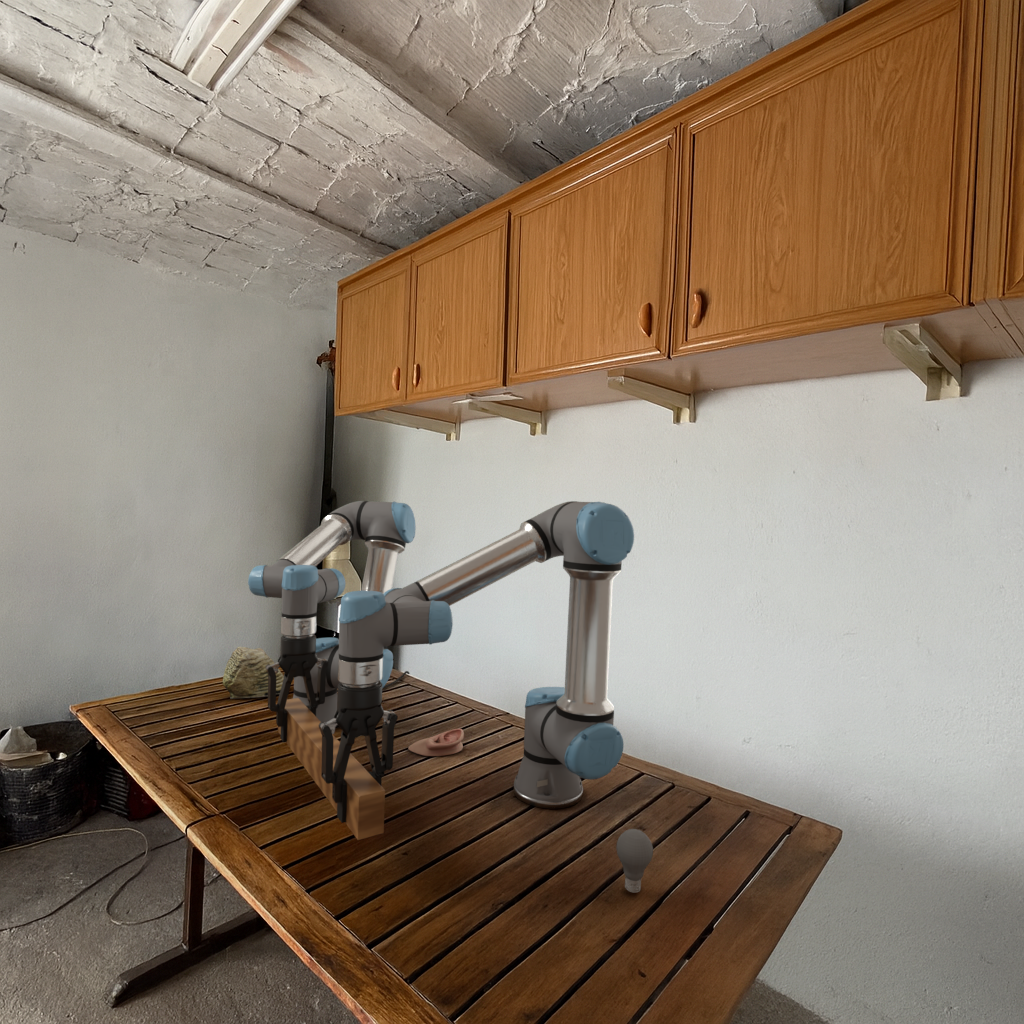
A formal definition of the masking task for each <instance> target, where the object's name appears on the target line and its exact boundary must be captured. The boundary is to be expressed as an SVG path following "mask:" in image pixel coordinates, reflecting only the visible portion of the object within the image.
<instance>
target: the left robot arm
mask: <svg viewBox="0 0 1024 1024" xmlns="http://www.w3.org/2000/svg"><path fill="white" fill-rule="evenodd" d="M416 526H417V525H416V517H415V513H414V511H413V508H412V507H411V506H410V505H409V504H407V503H406V502H405V503H404V502H397V501H378V500H377V501H374V500H373V501H372V500H357V501H352V502H350V503H346V504H344V505H342V506H340V507H338V508H336V509H334V510H333V511H331V512H330V513H328V514H327V515H325V517H323V519H322V520H321V523H320V525H319V526H318V527H317V528H315V529H314V530H313V531H311V532H310V533H309V534H308V535H307V536H306V537H304V538H303V539H302V540H301V541H299V542H297V543H296V545H294V546H293V547H292V548H291V549H289V550H288V551H287V552H286V553H285V554H283V555H282V556H281V557H279V558H278V559H277V560H276V561H274V562H273V563H272V564H271V565H268V564H262V565H260V564H259V565H256V566H254V567H253V568H252V569H251V570H250V573H249V575H248V578H247V579H248V580H247V584H248V589H249V591H250V593H251V594H253V595H254V596H257V597H264V598H266V599H267V598H275V599H281V618H280V619H281V620H280V622H281V623H280V634H281V635H282V636H281V637H280V649H279V651H280V653H279V657H278V659H277V661H276V662H274V664H272V665H270V664H268V665H266V670H267V673H268V696H267V708H268V709H269V710H270V712H276V713H275V714H276V718H275V724H276V726H277V728H278V727H281V735H280V737H279V738H280V740H281V741H282V743H286V742H287V714H288V713H287V711H286V710H285V705H286V701H287V699H289V698H288V697H289V694H290V690H291V687H292V683H293V695H292V696H293V697H292V699H293V698H299V699H300V700H301V701H302V702H303V703H304V704H305V705H306V707H307V708H308V709H309V710H310V711H311V712H312V713H313V714H314V715H315V716H316V717H317V718H318V719H319V720H320V721H321V722H325V723H326V722H328V721H329V720H331V719H333V718H334V715H335V713H336V711H337V692H338V684H339V683H340V681H338V662H339V637H318V638H317V635H315V634H316V633H317V616H318V615H317V614H318V612H317V611H318V604H321V603H324V602H328V601H332V600H335V599H336V598H339V597H340V596H342V594H343V593H344V591H345V589H346V578H345V576H344V574H343V573H342V572H341V570H339V569H337V568H334V567H331V568H328V567H326V568H322V569H318V567H317V566H318V565H319V564H321V562H322V561H323V560H325V558H327V557H328V556H329V555H330V554H331V553H332V552H334V551H335V550H336V549H337V548H338V547H339V546H343V545H347V543H349V542H350V541H355V540H357V541H358V540H359V541H360V540H361V541H364V545H365V547H366V548H367V550H368V551H367V552H368V553H367V558H366V562H365V563H366V564H365V569H364V572H363V573H364V574H363V578H362V584H361V590H360V591H377V592H381V593H383V594H384V593H385V592H386V591H388V590H390V589H393V588H394V583H395V577H396V571H397V566H398V561H399V556H400V554H402V553H403V552H405V550H406V545H407V544H410V543H412V542H413V541H414V539H415V537H416V529H417V527H416ZM393 659H394V654H393V652H392V651H391V650H390V649H389V646H384V650H383V677H382V679H381V680H380V681H381V683H382V690H383V689H386V688H388V687H390V686H392V685H394V684H396V683H398V682H399V681H400V680H401V679H402V678H404V677H405V676H406V674H407V675H411V674H410V672H409V670H406V671H404V672H403V673H402V675H400V676H399V677H398V678H397V679H395V680H394V681H392V682H389V683H388V681H389V679H390V677H391V675H392V671H393V668H394V660H393ZM278 669H280V670H281V671H283V672H284V674H283V676H284V677H283V683H282V687H281V691H280V694H278V698H277V694H276V674H277V673H278ZM387 683H388V684H387ZM337 727H339V726H338V725H337V726H336V727H335V728H337Z"/></svg>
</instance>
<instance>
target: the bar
mask: <svg viewBox="0 0 1024 1024" xmlns="http://www.w3.org/2000/svg"><path fill="white" fill-rule="evenodd" d="M285 710H286V711H287V713H288V714H287V742H285V743H286V745H287V746H288V748H289V749H290V750H291V751H292V753H293V754H294V755H295V757H296V758H297V760H298V761H299V762H300V763H301V765H302V767H303V768H304V769H305V770H306V772H307V773H308V775H309V776H310V777H311V778H312V780H313V781H314V783H315V784H316V785H317V787H318V788H319V789H320V791H321V793H322V794H323V795H324V796H325V798H326V799H327V801H328V802H329V803H330V805H331V806H332V807H333V809H334V810H335V811H336V812H337V803H335V801H334V800H333V798H332V783H330V784H327V783H326V782H325V780H324V779H323V778H322V776H321V768H322V734H321V731H320V729H319V723H320V722H321V721H320V720H319V719H318V718H317V717H316V716H315V715H314V714H313V713H312V712H311V711H310V710H309V709H308V708H307V707H306V705H305V704H304V703H303V702H302V701H301V700H300V699H299V698H293V697H292V698H287V701H286V705H285ZM277 732H278V734H279V735H280V736H281V727H278V726H277ZM332 735H333V769H334V765H335V761H336V757H337V753H338V749H339V745H340V741H339V739H338V738H337V737H336V736H335V734H332ZM368 772H369V771H368V770H367V769H366V767H364V766H363V765H362V763H360V762H359V761H358V760H357V759H356V757H355V756H354V755H353V754H352V753H351V752H350V756H349V760H348V764H347V768H346V772H345V776H344V781H345V782H346V783H347V812H346V822H344V823H345V825H346V826H347V828H348V829H349V830H350V831H351V833H352V835H353V836H354V837H355V839H356V840H357V841H361V840H363V839H367V838H370V837H374V836H378V835H382V834H384V832H385V804H386V790H385V788H384V787H383V786H382V784H381V785H380V784H379V783H378V782H377V781H376V780H375V779H374V778H373V777H372V776H371V775H370V774H369V773H368Z"/></svg>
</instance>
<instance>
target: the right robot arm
mask: <svg viewBox="0 0 1024 1024" xmlns="http://www.w3.org/2000/svg"><path fill="white" fill-rule="evenodd" d="M634 543H635V530H634V526H633V523H632V520H631V519H630V517H629V516H628V515H627V514H626V512H625V511H624V510H623V509H622V508H620V507H619V506H617V505H614V504H612V503H607V502H603V501H575V500H574V501H573V500H571V501H565V502H562V503H559V504H557V505H554V506H552V507H550V508H548V509H546V510H544V511H542V512H540V513H538V514H537V515H535V516H533V517H531V518H529V519H527V520H525V521H523V522H522V523H521V524H520V526H519V529H518V530H516V531H514V532H511V533H510V534H508V535H505V536H504V537H502V538H500V539H498V540H496V541H493V542H492V543H489V544H487V545H486V546H484V547H482V548H480V549H478V550H476V551H474V552H472V553H470V554H468V555H466V556H464V557H462V558H460V559H458V560H456V561H454V562H452V563H450V564H448V565H446V566H444V567H441V568H439V569H438V570H436V571H434V572H432V573H430V574H428V575H426V576H424V577H422V578H420V579H418V580H416V581H414V582H412V583H410V584H407V585H406V586H404V587H393V589H390V590H388V591H386V592H385V593H384V594H383V593H381V592H377V591H361V590H353V591H348V592H346V593H344V594H343V595H342V597H341V600H340V610H339V618H338V625H339V626H338V639H339V662H338V681H340V683H339V684H338V689H337V711H336V713H335V715H334V718H333V719H331V720H329V721H328V722H326V723H325V722H320V723H319V729H320V731H321V734H322V768H321V776H322V778H323V779H324V780H325V782H326V783H327V784H330V783H332V798H333V800H334V801H335V803H337V811H336V817H337V819H338V820H339V821H340V822H341V824H344V823H345V822H346V812H347V783H346V782H345V781H344V776H345V772H346V768H347V764H348V760H349V756H350V753H351V751H352V747H353V745H354V744H355V740H356V739H357V738H359V737H364V740H365V744H366V750H367V754H368V757H369V758H368V759H369V764H370V768H371V769H370V770H371V771H367V772H368V773H369V774H370V775H371V776H372V777H373V778H374V779H375V780H376V781H377V782H378V783H379V784H380V785H381V786H382V782H383V781H382V780H383V777H384V776H385V774H386V773H385V772H386V771H391V770H392V769H393V766H394V765H393V764H394V741H395V726H396V724H397V721H398V718H399V715H397V714H396V712H394V711H393V710H392V709H388V710H384V708H383V706H382V704H383V703H382V702H383V689H382V683H381V681H380V680H381V679H382V677H383V650H384V646H388V647H394V646H395V647H397V646H413V645H414V646H415V645H433V644H439V643H440V644H441V643H445V642H447V641H448V640H449V639H450V638H451V635H452V632H453V625H454V622H453V612H452V609H451V606H452V605H454V604H457V603H458V602H460V601H462V600H464V599H465V598H468V597H470V596H471V595H473V594H475V593H478V592H479V591H481V590H483V589H485V588H487V587H489V586H491V585H492V584H494V583H497V582H498V581H500V580H502V579H503V578H506V577H508V576H510V575H512V574H513V573H515V572H517V571H519V570H522V569H523V568H525V567H527V566H530V565H531V564H533V563H535V562H537V563H540V564H542V563H545V562H546V561H549V560H551V559H553V558H558V557H562V558H563V560H562V569H563V570H564V571H565V572H566V573H567V575H568V576H569V592H568V593H569V594H568V608H567V609H568V610H567V612H568V614H567V631H566V650H565V651H566V653H565V673H564V686H542V687H536V688H532V689H531V690H529V691H528V692H527V694H526V698H525V705H524V732H523V733H524V734H523V754H522V755H523V756H522V759H521V762H520V764H519V768H518V771H517V774H516V775H515V777H514V782H513V793H514V796H515V797H516V798H517V799H518V800H520V801H521V802H523V803H524V804H527V805H530V806H531V807H532V806H533V807H536V808H542V809H551V810H552V809H554V810H555V809H563V808H569V807H573V806H574V805H577V804H578V803H580V801H582V799H583V796H584V795H583V794H584V787H583V781H582V779H584V780H588V781H589V780H598V779H601V778H603V777H605V776H607V775H608V774H610V773H611V772H612V770H613V768H616V767H617V765H618V764H619V762H620V761H621V758H622V756H623V752H624V743H625V742H624V738H623V735H622V733H621V732H620V730H619V728H618V727H617V726H615V725H614V722H615V721H614V719H615V706H614V704H613V702H611V700H610V699H608V687H609V669H610V668H609V666H610V647H611V629H612V628H611V627H612V626H611V625H612V609H613V587H614V579H615V578H616V577H617V576H618V575H620V573H621V572H622V563H623V561H624V560H626V558H627V557H628V554H631V552H632V550H633V546H634ZM380 721H381V722H382V729H381V731H382V732H381V753H380V751H379V745H378V741H377V738H378V736H377V731H376V728H377V726H378V724H379V723H380ZM337 725H338V726H337ZM336 726H337V727H338V728H339V729H340V730H341V733H340V741H339V742H340V745H339V749H338V753H337V757H336V761H335V765H334V769H333V735H335V732H336V728H337V727H336ZM332 734H333V735H332Z"/></svg>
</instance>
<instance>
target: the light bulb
mask: <svg viewBox="0 0 1024 1024" xmlns="http://www.w3.org/2000/svg"><path fill="white" fill-rule="evenodd" d="M615 849H616V854H617V857H618V859H619V861H620V863H621V865H622V867H623V873H624V874H623V875H624V876H625V878H624V888H625V890H627V891H628V892H630V893H634V894H635V893H639V892H640V891H641V889H642V887H641V886H642V879H643V877H644V875H645V871H646V868H647V867H648V866H649V864H650V863H651V861H652V859H653V855H654V847H653V843H652V841H651V838H649V836H648V835H647V834H646V833H645V832H643V831H642V830H641V829H636V828H629V829H627V830H625V831H623V832H622V833H621V834H620V835H619V837H618V839H617V841H616V847H615Z"/></svg>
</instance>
